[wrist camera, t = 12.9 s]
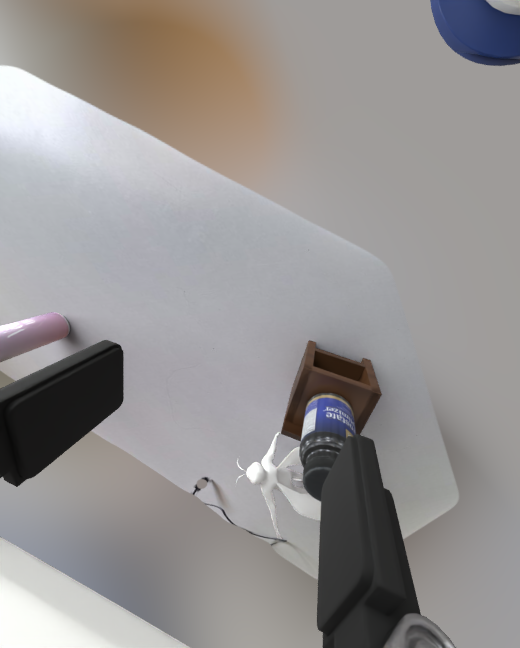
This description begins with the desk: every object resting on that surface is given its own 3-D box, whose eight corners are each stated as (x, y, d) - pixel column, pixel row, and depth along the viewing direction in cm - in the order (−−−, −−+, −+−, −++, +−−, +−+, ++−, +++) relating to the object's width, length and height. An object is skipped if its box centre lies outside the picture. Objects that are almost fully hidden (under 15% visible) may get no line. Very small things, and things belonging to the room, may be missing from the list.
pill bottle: (363, 407, 31) (378, 489, 21) (335, 436, 34) (338, 520, 24) (321, 382, 32) (317, 450, 22) (297, 412, 34) (283, 485, 24)
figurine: (349, 540, 41) (310, 552, 27) (290, 535, 45) (230, 543, 31) (335, 439, 50) (300, 410, 37) (287, 442, 55) (240, 418, 41)
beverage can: (48, 327, 55) (-44, 357, 41) (51, 306, 53) (-46, 330, 39) (69, 341, 55) (-17, 376, 41) (73, 321, 52) (-17, 350, 39)
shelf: (308, 340, 40) (301, 375, 30) (370, 360, 38) (385, 404, 28) (291, 388, 44) (280, 433, 34) (347, 408, 42) (352, 462, 32)
